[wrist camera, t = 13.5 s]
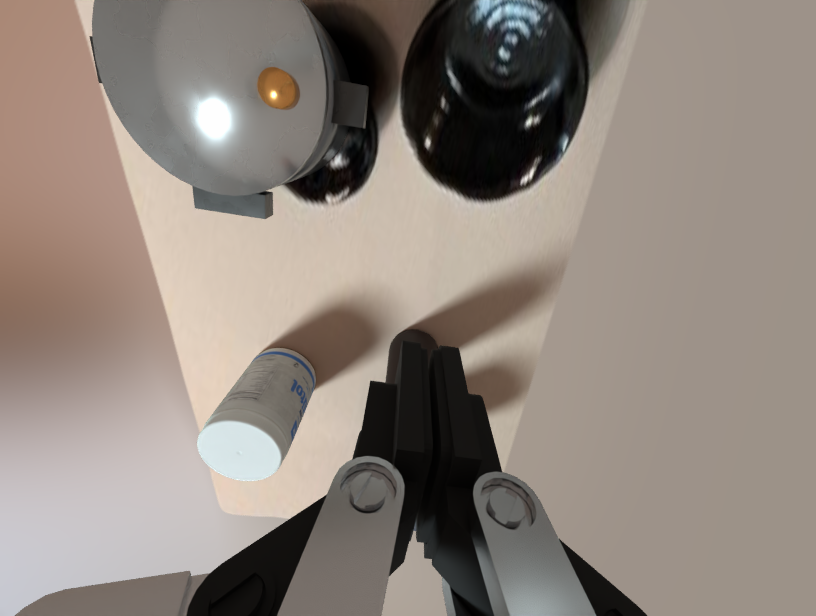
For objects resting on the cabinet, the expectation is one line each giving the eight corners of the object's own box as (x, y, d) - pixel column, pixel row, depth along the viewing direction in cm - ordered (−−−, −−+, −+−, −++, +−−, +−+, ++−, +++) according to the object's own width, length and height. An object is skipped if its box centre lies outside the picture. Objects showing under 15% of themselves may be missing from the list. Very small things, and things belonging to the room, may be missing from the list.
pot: (156, -26, 32) (40, -99, 22) (385, 17, 33) (373, -33, 23) (181, 179, 40) (104, 194, 30) (366, 209, 41) (351, 232, 31)
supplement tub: (327, 391, 53) (298, 476, 40) (269, 403, 54) (223, 490, 41) (301, 337, 49) (259, 412, 35) (239, 352, 50) (177, 430, 37)
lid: (80, -92, 22) (37, -121, 19) (335, -41, 23) (325, -63, 20) (130, 176, 29) (103, 180, 26) (323, 207, 30) (315, 214, 27)
